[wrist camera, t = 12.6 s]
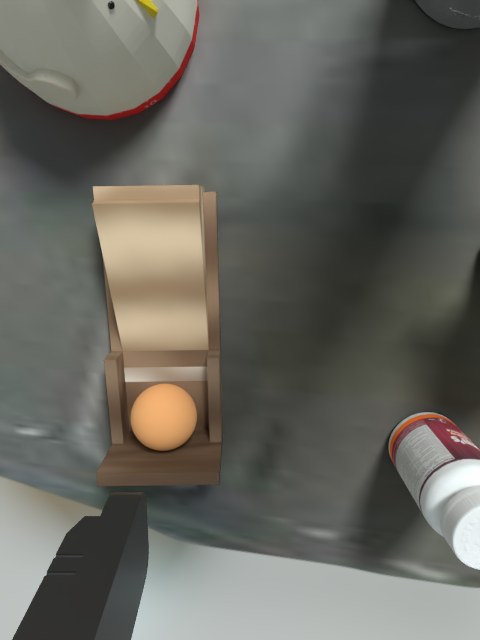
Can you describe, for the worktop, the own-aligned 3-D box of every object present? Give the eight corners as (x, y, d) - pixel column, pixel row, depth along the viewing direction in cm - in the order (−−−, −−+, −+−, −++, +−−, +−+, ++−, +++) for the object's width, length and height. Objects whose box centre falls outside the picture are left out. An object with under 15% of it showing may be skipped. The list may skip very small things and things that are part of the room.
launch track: (107, 189, 34) (64, 185, 26) (217, 188, 34) (210, 183, 26) (127, 425, 40) (97, 486, 31) (223, 424, 40) (219, 484, 31)
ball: (141, 398, 37) (128, 373, 33) (200, 398, 37) (195, 372, 33) (134, 459, 34) (119, 439, 30) (198, 458, 34) (192, 438, 30)
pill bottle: (472, 436, 38) (566, 530, 27) (422, 485, 39) (493, 594, 28) (420, 395, 37) (497, 476, 26) (371, 447, 38) (424, 545, 27)
